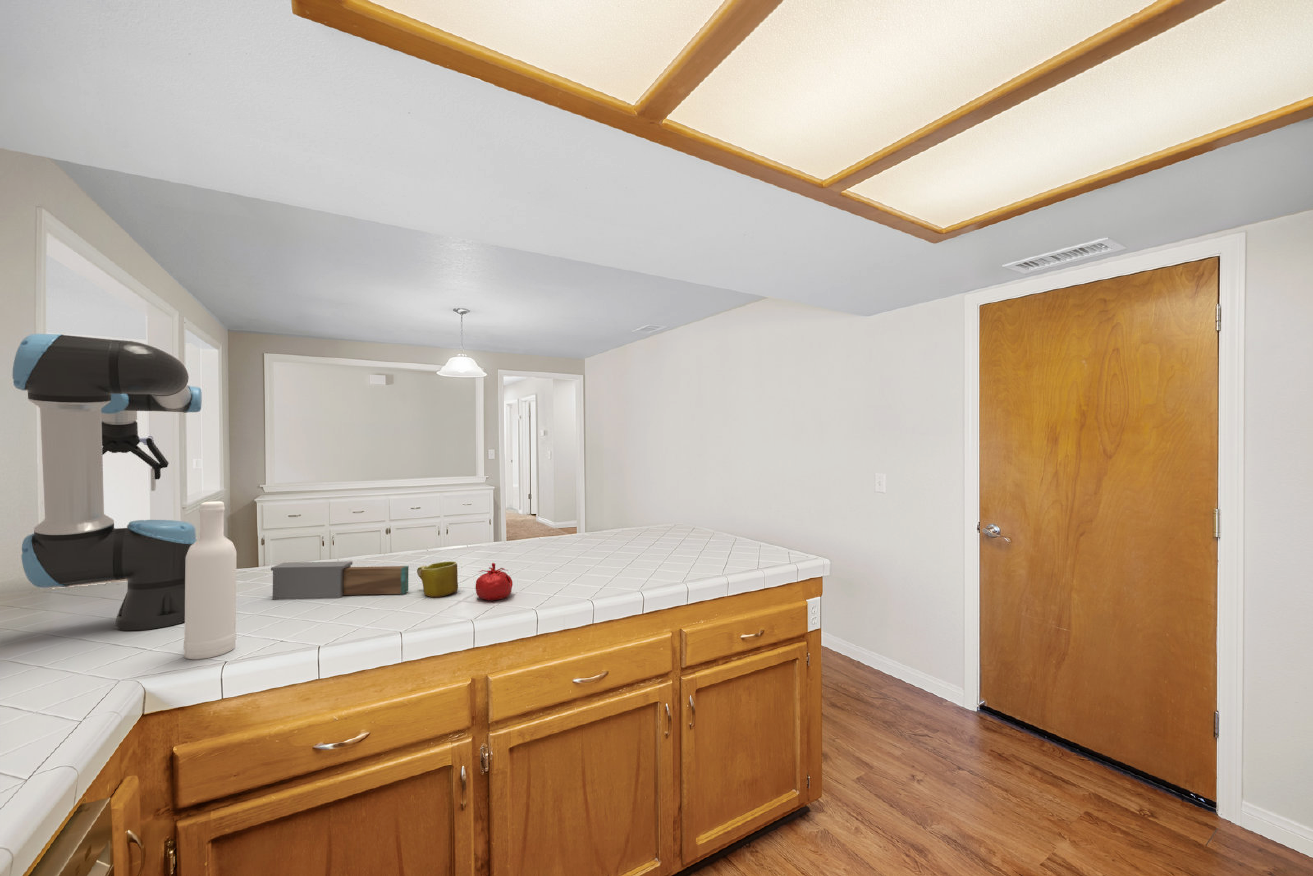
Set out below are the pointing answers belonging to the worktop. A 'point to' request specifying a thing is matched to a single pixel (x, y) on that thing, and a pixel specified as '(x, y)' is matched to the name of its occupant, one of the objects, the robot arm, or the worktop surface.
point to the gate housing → (308, 580)
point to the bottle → (210, 588)
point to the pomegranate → (493, 584)
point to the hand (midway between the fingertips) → (121, 490)
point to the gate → (375, 580)
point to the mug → (439, 578)
